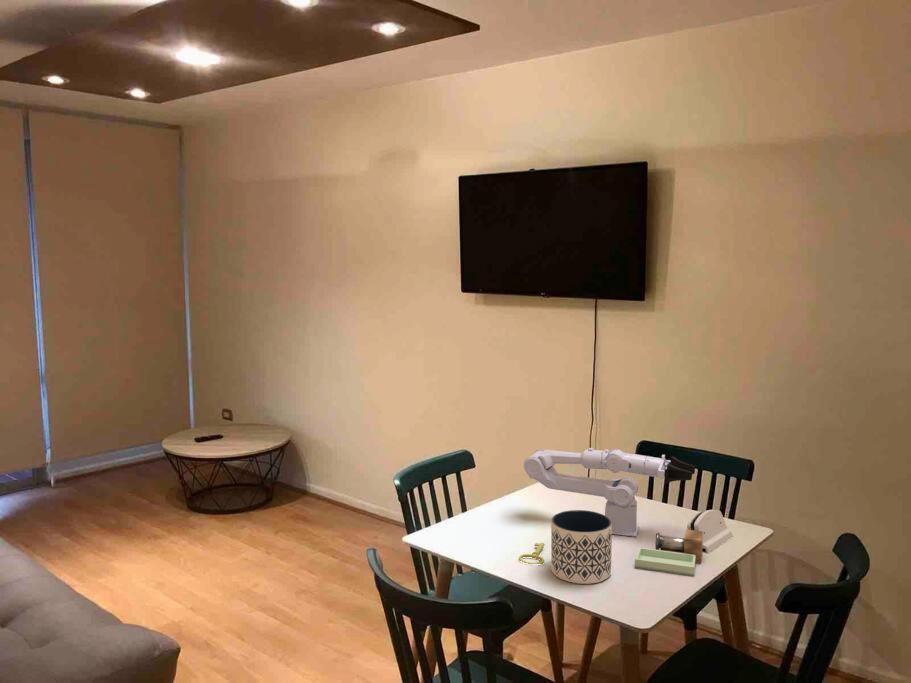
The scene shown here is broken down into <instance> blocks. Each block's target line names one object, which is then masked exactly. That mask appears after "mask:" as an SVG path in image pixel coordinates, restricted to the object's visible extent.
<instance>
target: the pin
mask: <svg viewBox="0 0 911 683" xmlns="http://www.w3.org/2000/svg"><path fill="white" fill-rule="evenodd" d="M660 533H661V532H656V534H655V543H654V544H655V549H654V550H660V549H661V548H662V549H670V550H677V551H684V538H685V537H676V536H669V535H664V534H663V535H661V534H660Z"/></svg>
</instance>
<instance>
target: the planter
mask: <svg viewBox="0 0 911 683" xmlns="http://www.w3.org/2000/svg"><path fill="white" fill-rule="evenodd" d="M550 527H551V530H550V531H551V540H550V541H551V542H550V543H551V544H550V545H551V548H550V549H551V556H550V557H551V559H550V560H551V562H550V563H551V564H550V565H551V572H552V573H553V575H555V576H556V577H557V578H559V579H560V580H563V581H564V582H569V583H571V582H572V584H577V585H579V584H580V585H590V584H596V583H597V584H598V583H600V582H603V581H605V580H607V579H608V578H609V577H610V576H611V574H612V539H613V538H612V537H613V536H612V535H613V534H612V522H611V520H610V519H609V518H608V517H607V516H605V514H604V513H603V514H602V513H600V512H595V511H592V510H587V509H586V510H581V509H572V510H564V511H561V512H558V513H555V514H554V515H553V516H552V517H551V526H550Z"/></svg>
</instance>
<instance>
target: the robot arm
mask: <svg viewBox="0 0 911 683" xmlns="http://www.w3.org/2000/svg"><path fill="white" fill-rule="evenodd" d="M557 464H558V465H559V464H560V465H561V464H564V465H565V464H566V465H567V464H568V465H581V466H582V467H583V468H585V469H591V470H592V469H594V470H608V471H610V472H612V474H617V473H620V472H625V473H629V474H636V475H640V476H641V475H642V476H647V477H653V478H659V479H660V480H661V479H663V480H664V484H668V483H673V482H675V481H676V482H677V481H679V482H680V481H692V480H693V475H695V474H696V473H695V471H696V466H694V465H692V464H689V463H686V462H683V461H681V460H679V458H677V457H676V456H670V459H666V454H662V455H661V457H654V456H650V455H642V454H636V453H627V452H624V451H623V450H622V449H618V448H614V449H611V450H609V449H608V448H607V449H606V448H605V449H604V450H599V449H597V450H596V449H594V447H589V448H588V449H585V450H584V451H582V452H573V451H572V452H571V451H565V450H564V451H563V450H555V449H554V450H553V449H550V448H549V449H548V448H547V449H537V450H535V451H534V452H533V454H531V455H530V456H529V457H526V459H525V460H524V462H523V468H524V471H525V473H526V474H527V476H528V477H529V478H530V479H533V480H536V481H537V482H539V484H541V485H543V486H544V487H546V488H547V489H550V490H555V491H561V492H562V491H563V492H569V493H576V494H581V495H589V496H597V497H600V498H601V497H603V498H604V499H605V500H606V503H605V508H604V515H605V516H607V517H608V518H609V519H610V520H611V522H612V535H618V536H628V537H637V536H638V532H639V529H640V526H639V525H637V524H638V523H637V521H638V520H637V517H638V516H637V515H638V512H637V511H638V501H637V499H636V497H635V496H636V495H637V493H638V492H639V486H638V483H637V481H636V480H635V479H633V478H632V477H629V476H628V477H622V478H611V479H602V478H595V477H589V476H588V477H587V476H582V475H581V476H579V475H573V474H566V473H559V472H558V471H557V469H556V468H555V466H554V465H557Z"/></svg>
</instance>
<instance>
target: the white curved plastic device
mask: <svg viewBox="0 0 911 683" xmlns="http://www.w3.org/2000/svg"><path fill="white" fill-rule="evenodd" d="M686 529H688V530H696V531H703V539H702V550H703V549H705V552H706V553H705V554H710V553H712V552H713V551H714V550H716V549H718V548H719V547H720V545H721V544H722V543H724V542H725V541H727V540H728V539H730V538H731V537H733V538H734V535H733V532H732V530H730V529H729V528H728V526H727V524H726V521H725V519H724V516H723V514H722V512H721V510H718V509H708V510H703V511H699V512H697V513H695V514H694V515H692V517H691V518H690V519H689V521H688V522H687V525H686ZM731 539H732V538H731ZM731 539H730V540H731ZM728 541H729V540H728ZM728 541H727V542H728ZM725 543H726V542H725ZM725 543H724V544H725ZM722 545H723V544H722ZM722 545H721V546H722ZM718 546H719V547H718Z"/></svg>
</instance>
